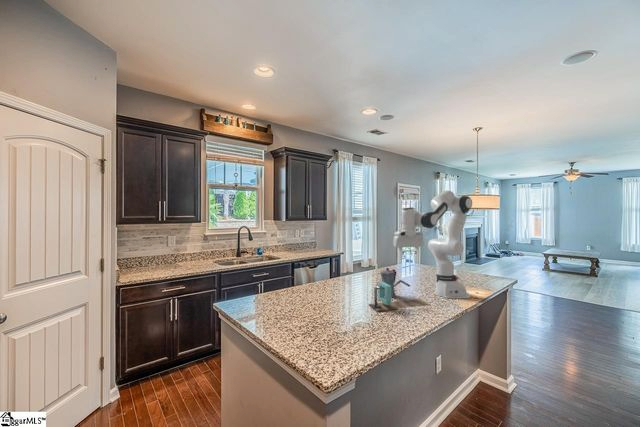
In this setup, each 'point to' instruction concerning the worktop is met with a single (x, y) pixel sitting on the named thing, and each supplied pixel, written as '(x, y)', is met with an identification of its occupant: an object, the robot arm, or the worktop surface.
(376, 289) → the wire
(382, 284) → the teal square frame
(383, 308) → the board
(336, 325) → the worktop surface
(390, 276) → the moka pot
